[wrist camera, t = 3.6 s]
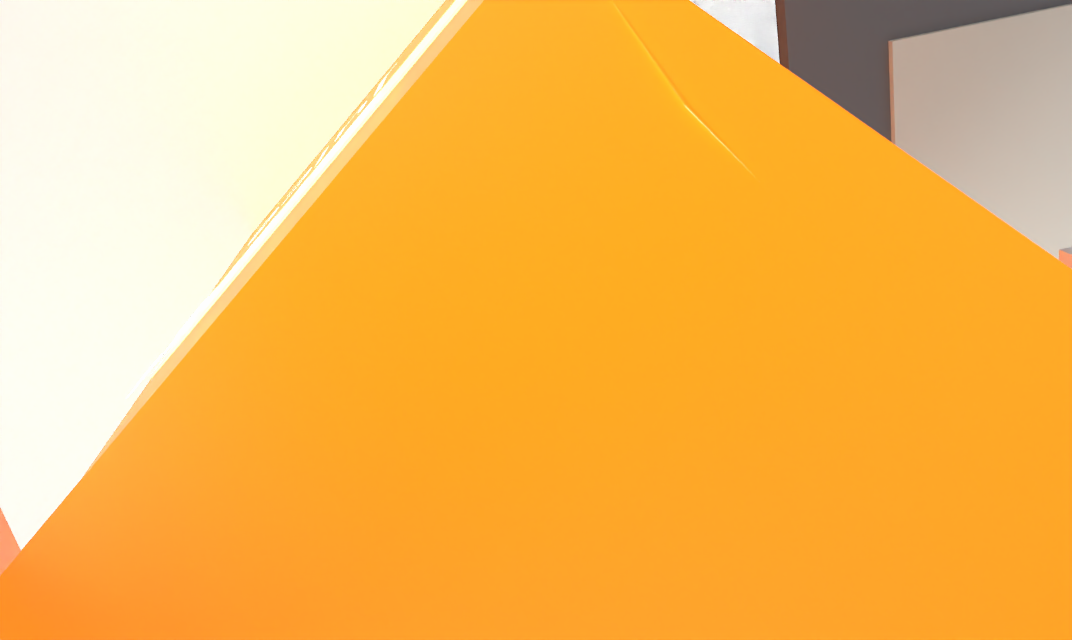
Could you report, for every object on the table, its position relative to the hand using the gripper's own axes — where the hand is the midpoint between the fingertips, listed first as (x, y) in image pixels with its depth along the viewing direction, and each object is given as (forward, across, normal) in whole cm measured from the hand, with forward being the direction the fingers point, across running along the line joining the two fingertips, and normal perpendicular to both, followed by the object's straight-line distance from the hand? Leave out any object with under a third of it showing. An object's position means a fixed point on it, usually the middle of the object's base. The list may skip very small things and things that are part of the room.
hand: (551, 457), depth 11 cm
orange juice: (+13, 0, 0) cm, 13 cm away
